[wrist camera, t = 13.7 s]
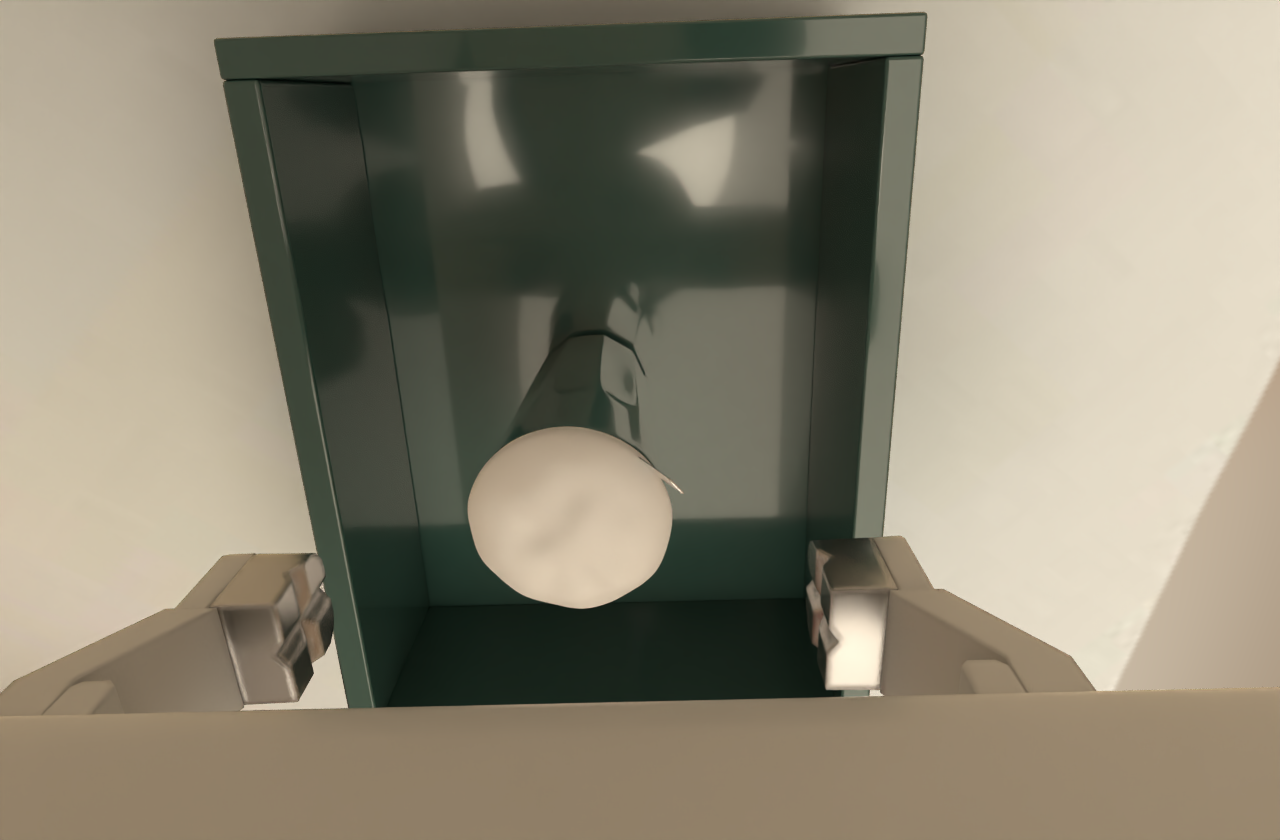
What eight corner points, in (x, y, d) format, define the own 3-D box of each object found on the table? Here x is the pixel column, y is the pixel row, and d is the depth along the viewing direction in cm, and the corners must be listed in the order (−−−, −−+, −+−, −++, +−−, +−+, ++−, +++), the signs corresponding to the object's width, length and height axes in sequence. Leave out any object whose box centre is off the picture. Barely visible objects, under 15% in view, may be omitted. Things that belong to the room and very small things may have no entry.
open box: (328, 54, 23) (211, 38, 17) (853, 34, 23) (928, 11, 17) (416, 615, 30) (355, 750, 24) (821, 606, 29) (866, 740, 23)
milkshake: (716, 372, 25) (751, 561, 16) (589, 471, 27) (558, 693, 18) (617, 263, 24) (597, 405, 15) (490, 375, 26) (402, 564, 17)
